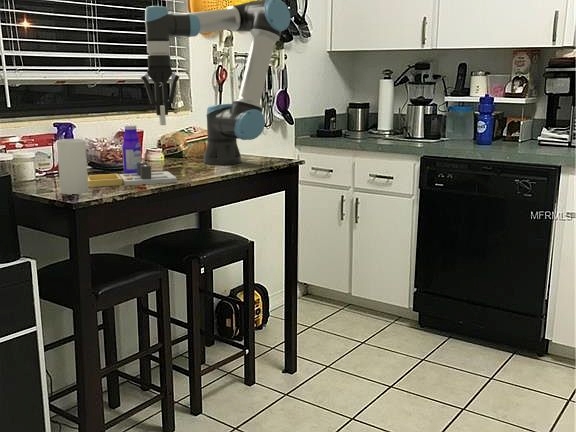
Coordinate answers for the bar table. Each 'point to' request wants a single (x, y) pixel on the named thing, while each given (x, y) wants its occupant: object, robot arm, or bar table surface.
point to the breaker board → (155, 178)
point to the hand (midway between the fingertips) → (162, 124)
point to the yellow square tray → (104, 180)
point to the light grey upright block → (72, 166)
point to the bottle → (131, 149)
